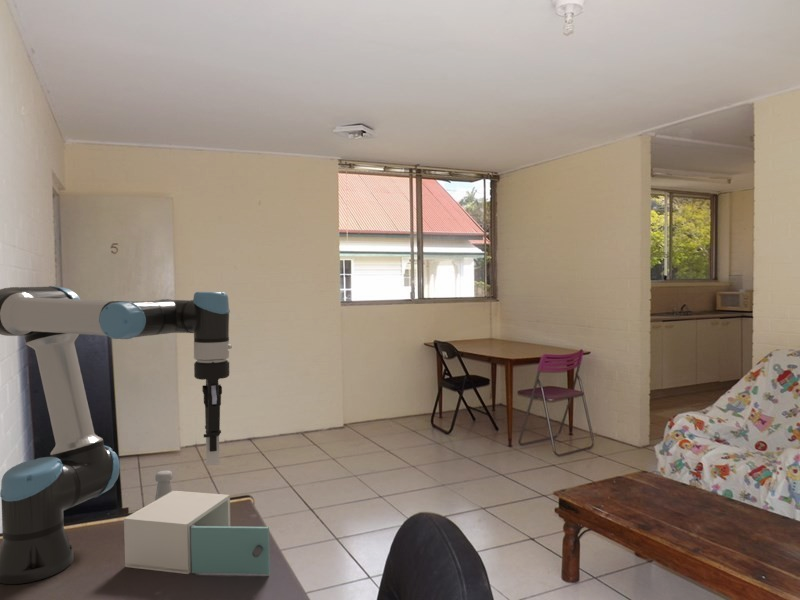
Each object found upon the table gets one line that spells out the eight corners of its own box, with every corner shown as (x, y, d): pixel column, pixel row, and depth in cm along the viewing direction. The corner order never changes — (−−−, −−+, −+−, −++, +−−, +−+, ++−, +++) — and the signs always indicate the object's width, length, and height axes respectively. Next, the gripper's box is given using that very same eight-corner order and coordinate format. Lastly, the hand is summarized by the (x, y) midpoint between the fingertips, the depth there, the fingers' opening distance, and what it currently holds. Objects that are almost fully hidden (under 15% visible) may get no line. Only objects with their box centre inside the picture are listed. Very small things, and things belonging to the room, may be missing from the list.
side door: (192, 569, 127) (190, 524, 127) (270, 570, 126) (269, 525, 126) (184, 578, 123) (183, 532, 123) (265, 579, 122) (264, 532, 122)
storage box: (125, 566, 130) (123, 518, 130) (174, 533, 147) (173, 490, 147) (188, 574, 126) (187, 524, 126) (230, 538, 144) (229, 494, 143)
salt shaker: (162, 514, 160) (161, 467, 160) (180, 515, 159) (179, 468, 158) (149, 522, 154) (147, 474, 154) (168, 524, 153) (166, 475, 153)
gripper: (232, 363, 125) (233, 470, 126) (226, 355, 137) (226, 454, 138) (195, 364, 122) (196, 475, 123) (192, 357, 134) (193, 457, 135)
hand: (212, 464), depth 130 cm, fingers closed
